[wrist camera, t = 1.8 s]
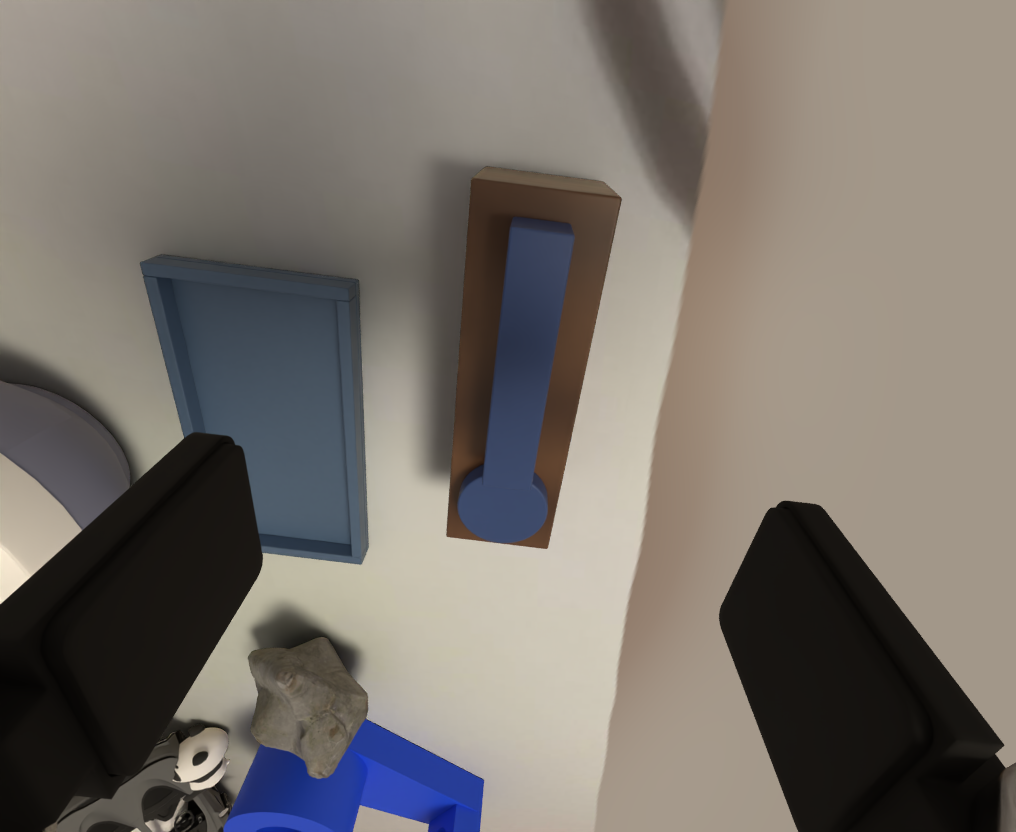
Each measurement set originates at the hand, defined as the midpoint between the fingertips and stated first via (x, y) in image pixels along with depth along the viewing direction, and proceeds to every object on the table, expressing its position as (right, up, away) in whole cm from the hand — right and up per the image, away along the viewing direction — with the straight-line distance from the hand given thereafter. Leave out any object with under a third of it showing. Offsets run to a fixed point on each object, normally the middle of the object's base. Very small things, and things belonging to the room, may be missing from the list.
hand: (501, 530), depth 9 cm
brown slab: (+1, +5, +16) cm, 16 cm away
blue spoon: (+1, +3, +11) cm, 12 cm away
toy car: (-30, -31, +39) cm, 58 cm away
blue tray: (-12, +2, +19) cm, 22 cm away
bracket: (-11, -28, +36) cm, 47 cm away
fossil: (-14, -15, +29) cm, 35 cm away
